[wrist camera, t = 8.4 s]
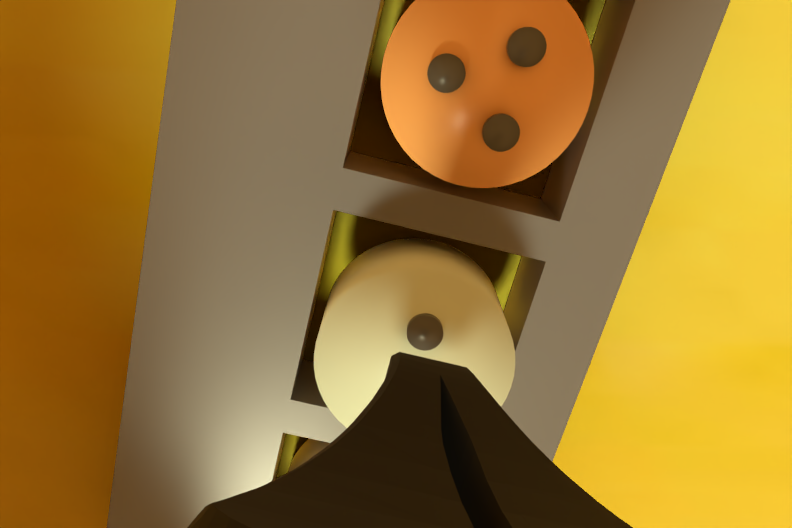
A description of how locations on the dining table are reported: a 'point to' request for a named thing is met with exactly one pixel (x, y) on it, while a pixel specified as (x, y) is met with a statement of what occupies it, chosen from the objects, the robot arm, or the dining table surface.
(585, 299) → the button panel
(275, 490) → the robot arm
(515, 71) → the button three
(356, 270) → the button two
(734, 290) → the dining table surface
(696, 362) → the dining table surface
